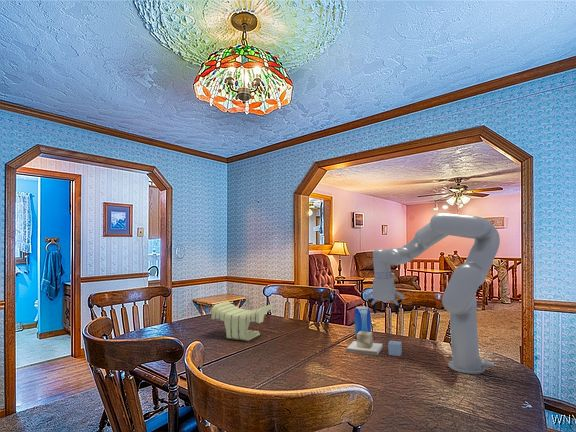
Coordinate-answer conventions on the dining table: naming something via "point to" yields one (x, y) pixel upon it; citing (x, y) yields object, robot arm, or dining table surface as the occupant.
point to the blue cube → (395, 348)
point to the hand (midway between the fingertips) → (385, 313)
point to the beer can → (362, 319)
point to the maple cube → (364, 339)
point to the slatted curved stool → (239, 319)
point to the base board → (365, 349)
